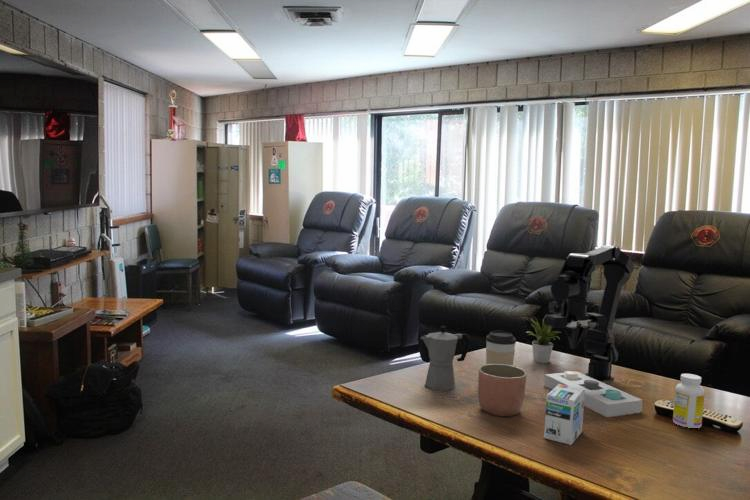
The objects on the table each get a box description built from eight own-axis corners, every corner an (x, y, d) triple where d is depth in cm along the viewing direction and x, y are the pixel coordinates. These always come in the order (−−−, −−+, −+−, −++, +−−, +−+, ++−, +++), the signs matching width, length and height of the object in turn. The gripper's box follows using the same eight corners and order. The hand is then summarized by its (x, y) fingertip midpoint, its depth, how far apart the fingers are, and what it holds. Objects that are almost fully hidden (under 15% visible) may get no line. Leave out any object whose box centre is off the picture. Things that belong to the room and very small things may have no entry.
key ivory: (571, 383, 183) (572, 370, 182) (580, 387, 179) (581, 374, 179) (560, 384, 181) (561, 371, 181) (569, 389, 178) (570, 375, 177)
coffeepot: (422, 391, 172) (426, 330, 170) (414, 381, 181) (417, 322, 179) (474, 390, 175) (477, 329, 173) (463, 380, 184) (466, 322, 183)
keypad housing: (576, 382, 187) (576, 371, 186) (641, 412, 163) (642, 400, 162) (544, 385, 182) (545, 374, 182) (606, 417, 158) (607, 404, 158)
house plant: (518, 364, 203) (521, 317, 202) (515, 353, 217) (518, 309, 215) (562, 368, 201) (565, 320, 199) (556, 357, 215) (559, 312, 213)
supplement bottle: (698, 422, 157) (703, 374, 156) (703, 431, 151) (708, 381, 150) (670, 418, 160) (675, 370, 158) (674, 427, 153) (678, 378, 152)
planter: (472, 414, 156) (474, 373, 155) (480, 399, 168) (483, 361, 167) (521, 422, 152) (523, 380, 151) (526, 406, 164) (529, 367, 162)
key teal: (612, 402, 167) (613, 388, 167) (623, 407, 163) (624, 393, 163) (601, 404, 166) (602, 390, 165) (611, 409, 162) (613, 394, 162)
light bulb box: (571, 446, 139) (575, 400, 138) (542, 438, 143) (545, 394, 142) (582, 431, 148) (586, 388, 147) (555, 424, 152) (558, 383, 151)
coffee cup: (516, 386, 181) (519, 337, 179) (485, 384, 181) (488, 335, 179) (510, 376, 190) (513, 329, 188) (481, 375, 190) (484, 328, 188)
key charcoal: (590, 392, 175) (592, 379, 175) (600, 397, 171) (602, 383, 171) (579, 394, 173) (581, 380, 173) (589, 398, 170) (590, 384, 169)
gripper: (583, 291, 188) (579, 340, 190) (534, 292, 181) (530, 343, 183) (609, 297, 178) (605, 349, 180) (558, 299, 171) (554, 353, 173)
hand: (573, 348), depth 179 cm, fingers closed
